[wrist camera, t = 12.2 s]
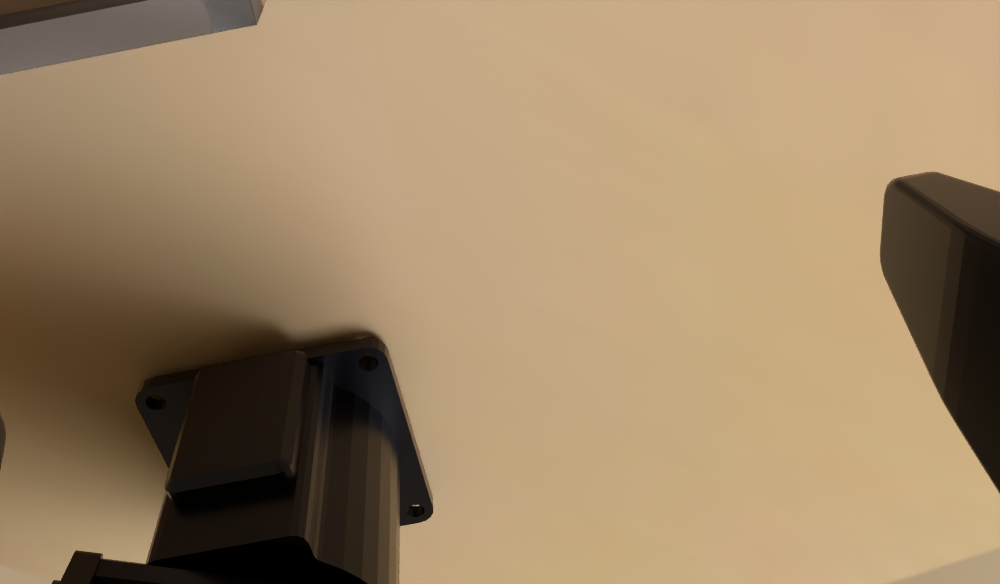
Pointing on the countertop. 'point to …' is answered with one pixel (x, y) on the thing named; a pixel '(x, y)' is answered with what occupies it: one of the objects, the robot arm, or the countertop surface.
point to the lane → (108, 26)
